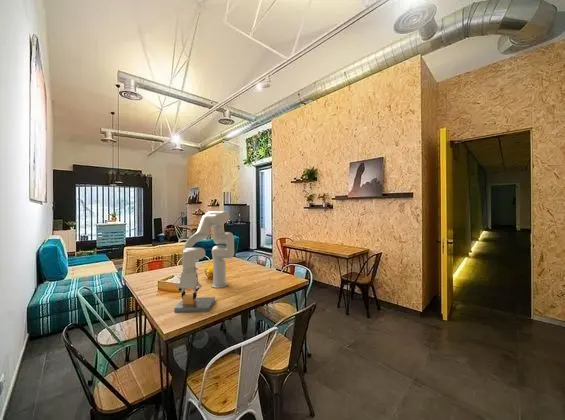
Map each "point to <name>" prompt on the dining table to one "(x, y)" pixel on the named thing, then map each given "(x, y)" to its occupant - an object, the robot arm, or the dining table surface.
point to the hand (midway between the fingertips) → (189, 298)
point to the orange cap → (188, 298)
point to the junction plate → (196, 305)
